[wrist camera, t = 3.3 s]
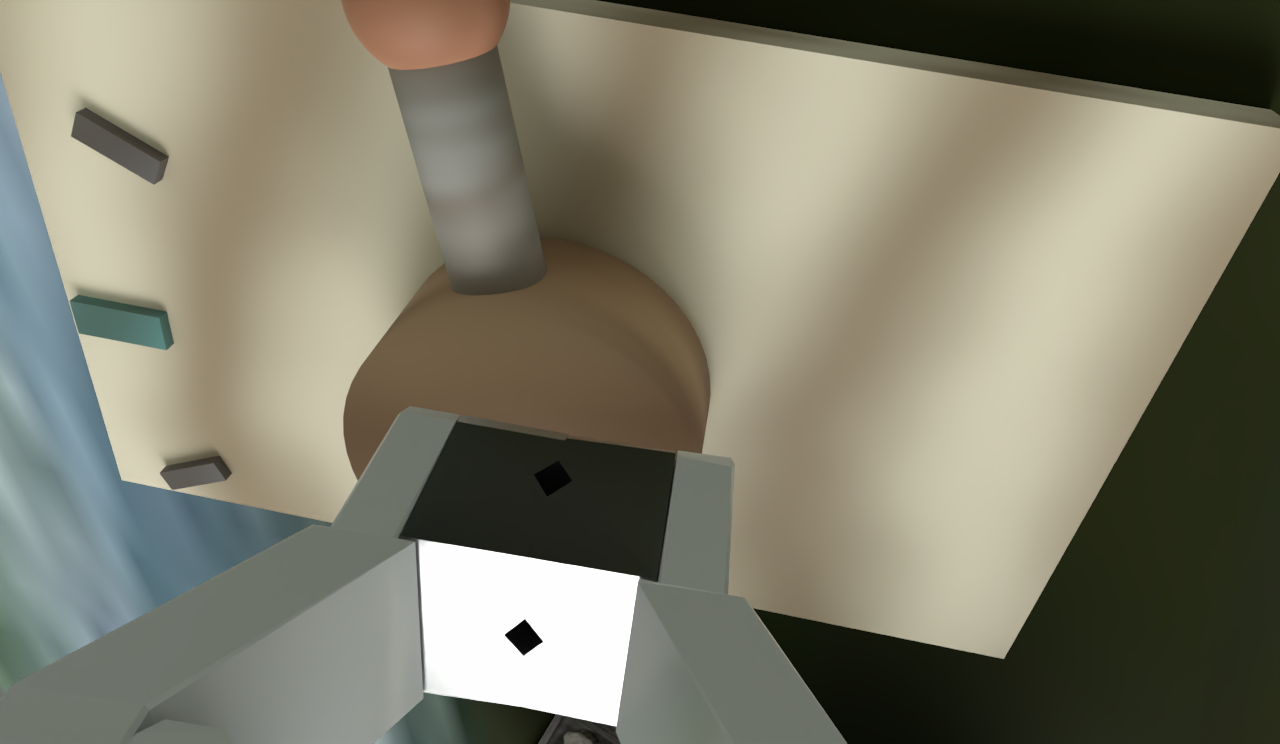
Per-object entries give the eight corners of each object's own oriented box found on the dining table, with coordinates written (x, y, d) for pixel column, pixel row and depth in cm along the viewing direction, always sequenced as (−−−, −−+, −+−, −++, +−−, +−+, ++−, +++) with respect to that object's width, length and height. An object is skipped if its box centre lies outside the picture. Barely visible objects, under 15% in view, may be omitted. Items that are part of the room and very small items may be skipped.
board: (1271, 109, 16) (1311, 138, 14) (995, 622, 24) (1005, 668, 22) (1, -96, 17) (-61, -86, 16) (148, 452, 25) (114, 487, 24)
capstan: (724, 500, 21) (710, 620, 18) (446, 500, 22) (391, 611, 19) (647, -145, 14) (605, -122, 11) (247, -82, 15) (111, -47, 12)
